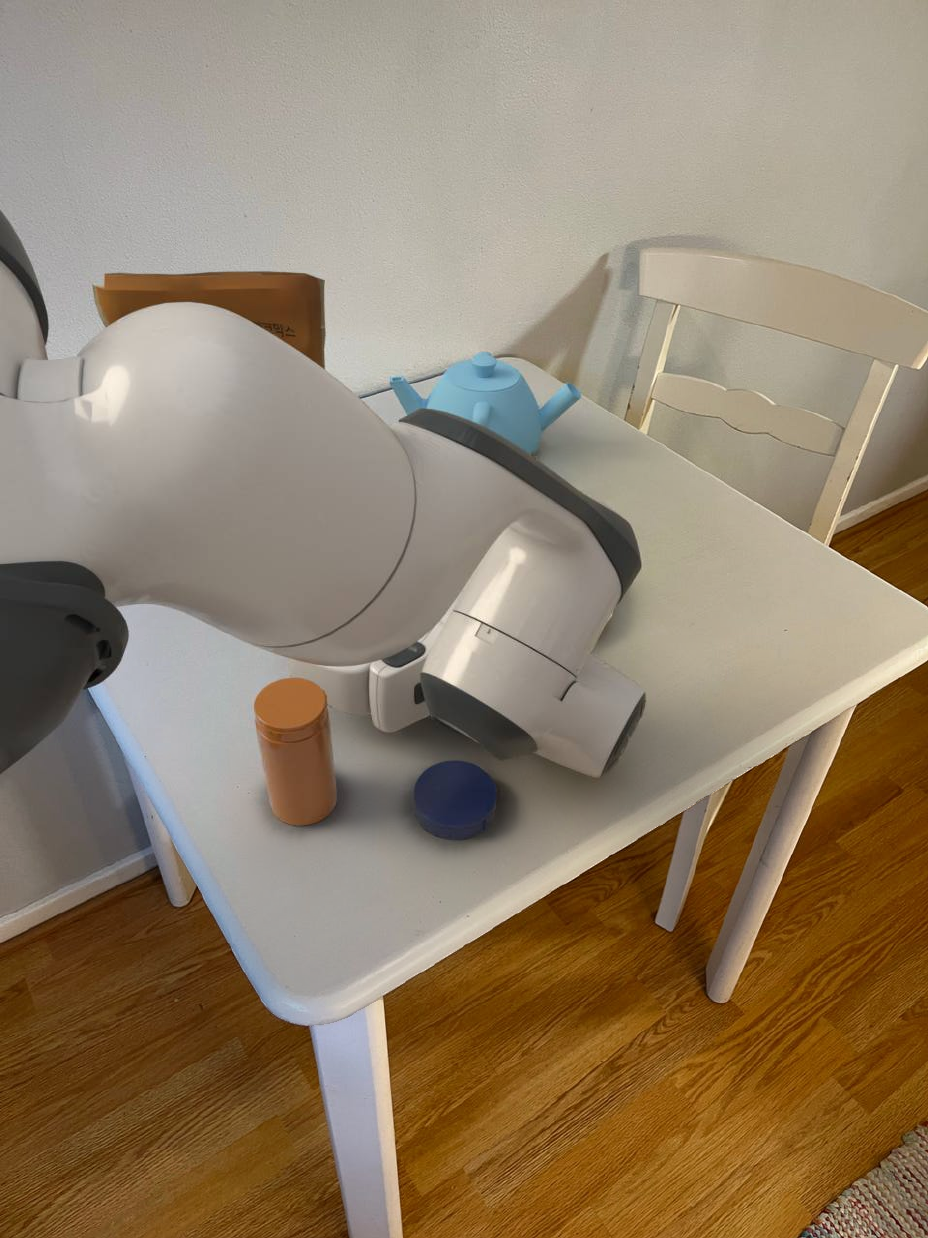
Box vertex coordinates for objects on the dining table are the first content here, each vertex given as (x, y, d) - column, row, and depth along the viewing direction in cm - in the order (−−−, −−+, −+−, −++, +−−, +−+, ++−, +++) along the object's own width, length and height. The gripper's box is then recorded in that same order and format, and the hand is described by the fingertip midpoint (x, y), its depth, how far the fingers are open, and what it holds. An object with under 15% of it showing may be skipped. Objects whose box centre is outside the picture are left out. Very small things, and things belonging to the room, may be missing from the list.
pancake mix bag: (338, 567, 89) (314, 285, 71) (151, 551, 90) (81, 270, 72) (351, 528, 94) (332, 256, 76) (175, 514, 95) (114, 242, 77)
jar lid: (513, 807, 67) (514, 794, 66) (454, 856, 64) (455, 842, 63) (455, 761, 71) (456, 747, 69) (396, 804, 67) (396, 790, 66)
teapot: (496, 501, 99) (501, 408, 92) (386, 446, 107) (383, 357, 100) (579, 450, 108) (590, 362, 100) (472, 403, 116) (474, 319, 109)
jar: (280, 835, 65) (263, 738, 58) (262, 785, 68) (244, 688, 62) (346, 812, 67) (337, 716, 60) (325, 765, 70) (314, 668, 63)
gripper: (528, 554, 76) (403, 498, 83) (370, 688, 64) (235, 610, 70) (523, 611, 81) (404, 553, 87) (373, 747, 68) (246, 668, 74)
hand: (327, 579), depth 78 cm, fingers open, 8 cm apart
